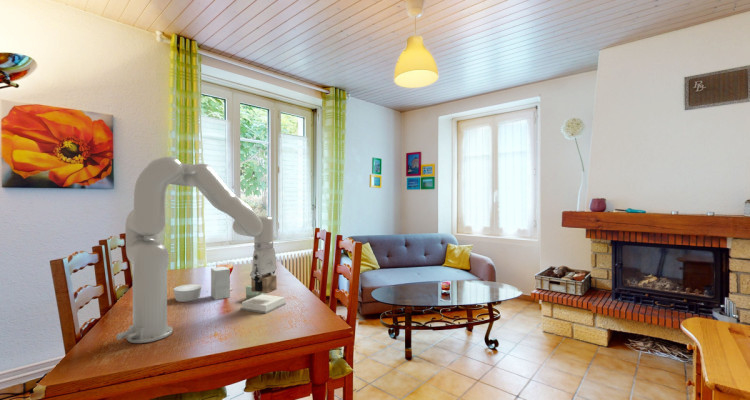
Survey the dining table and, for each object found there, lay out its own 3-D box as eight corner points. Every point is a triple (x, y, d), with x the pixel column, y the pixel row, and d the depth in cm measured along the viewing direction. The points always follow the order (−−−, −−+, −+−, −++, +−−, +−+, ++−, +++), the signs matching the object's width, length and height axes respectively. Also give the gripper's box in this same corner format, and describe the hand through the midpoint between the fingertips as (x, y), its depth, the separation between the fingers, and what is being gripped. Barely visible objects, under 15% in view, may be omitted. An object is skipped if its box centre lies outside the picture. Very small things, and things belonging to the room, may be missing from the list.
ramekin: (193, 303, 148) (193, 290, 148) (167, 302, 148) (167, 290, 148) (206, 295, 159) (206, 284, 159) (182, 295, 160) (182, 283, 159)
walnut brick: (267, 293, 139) (266, 278, 139) (251, 291, 142) (251, 276, 142) (276, 289, 145) (276, 275, 144) (261, 287, 148) (261, 273, 147)
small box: (230, 297, 156) (230, 269, 156) (215, 300, 152) (215, 270, 152) (225, 293, 162) (225, 266, 162) (210, 295, 158) (210, 267, 158)
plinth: (266, 313, 135) (266, 306, 135) (240, 309, 140) (240, 302, 140) (285, 304, 147) (285, 297, 147) (261, 300, 151) (261, 293, 151)
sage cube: (256, 301, 151) (256, 287, 151) (246, 299, 153) (245, 286, 153) (265, 297, 156) (265, 284, 156) (255, 296, 159) (255, 283, 158)
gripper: (256, 249, 133) (257, 295, 134) (284, 243, 149) (284, 284, 150) (241, 248, 136) (242, 293, 137) (270, 242, 152) (270, 282, 153)
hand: (264, 288), depth 143 cm, fingers closed on walnut brick, 6 cm apart
